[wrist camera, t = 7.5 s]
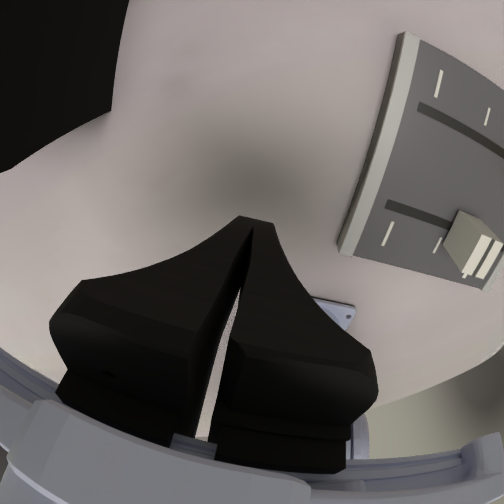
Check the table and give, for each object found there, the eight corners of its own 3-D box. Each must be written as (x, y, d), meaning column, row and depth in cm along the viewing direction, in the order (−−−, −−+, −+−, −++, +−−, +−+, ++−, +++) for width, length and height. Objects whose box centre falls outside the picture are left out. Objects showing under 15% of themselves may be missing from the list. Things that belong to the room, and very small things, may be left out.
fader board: (481, 282, 21) (487, 292, 20) (336, 243, 21) (338, 254, 20) (546, 132, 12) (556, 136, 11) (397, 34, 12) (405, 31, 11)
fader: (464, 252, 18) (483, 279, 15) (442, 244, 18) (461, 273, 15) (480, 219, 16) (504, 244, 13) (459, 210, 16) (482, 235, 13)
